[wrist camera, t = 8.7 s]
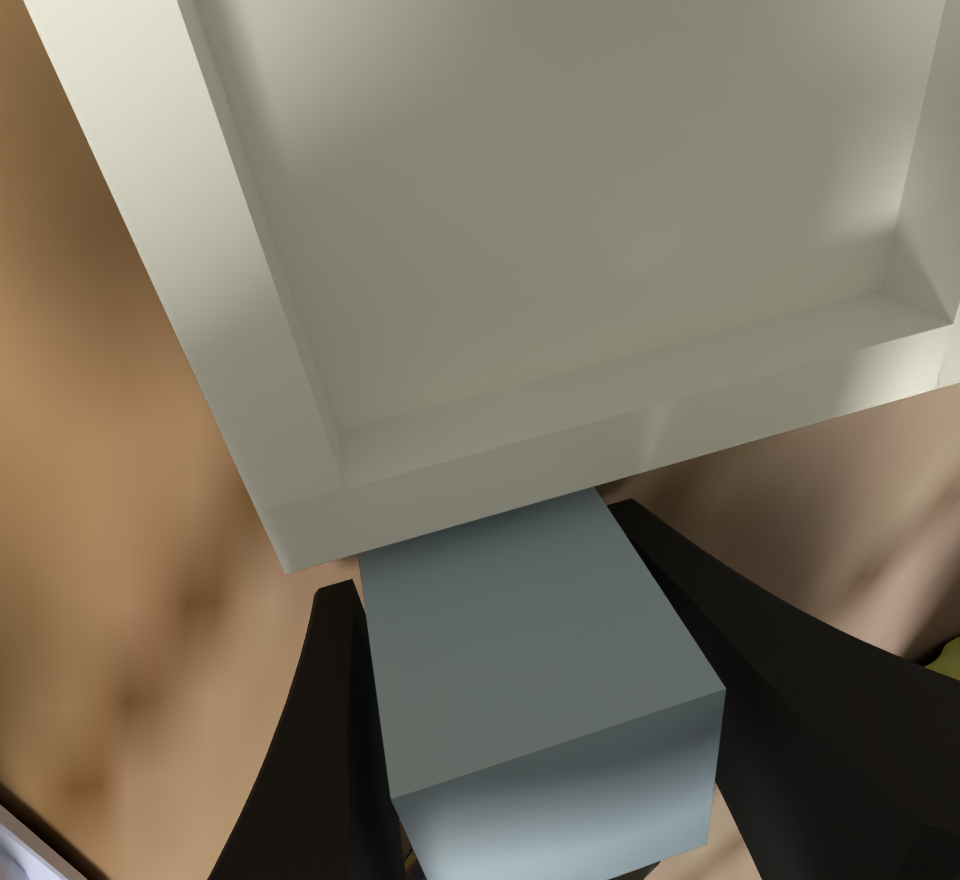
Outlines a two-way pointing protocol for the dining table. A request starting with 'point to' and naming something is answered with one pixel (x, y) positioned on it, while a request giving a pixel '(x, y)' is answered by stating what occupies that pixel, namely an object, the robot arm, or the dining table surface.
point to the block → (539, 698)
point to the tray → (524, 232)
